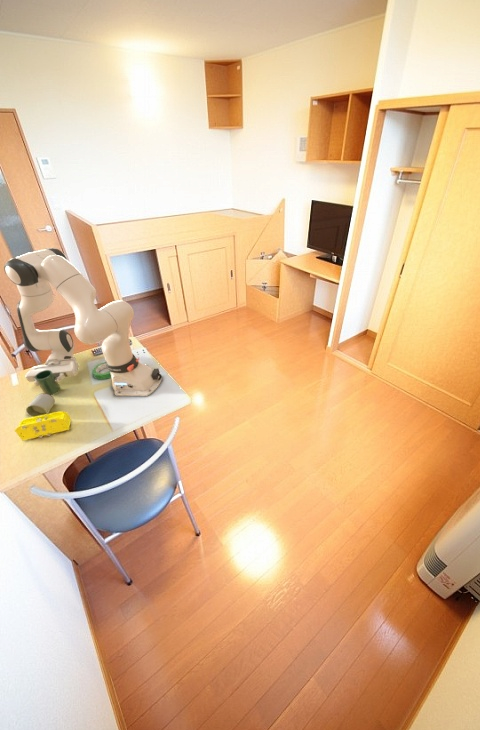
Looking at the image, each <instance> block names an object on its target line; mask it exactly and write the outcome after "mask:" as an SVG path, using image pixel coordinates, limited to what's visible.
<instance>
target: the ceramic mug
mask: <svg viewBox="0 0 480 730" xmlns="http://www.w3.org/2000/svg"><path fill="white" fill-rule="evenodd" d="M55 399H56V398H55V397H54V396H53V395H49V394H45V393H44V392H43V393H39V394H38V395H36V396H35V397H34V398H33V400H32V401H31V402H30V403H29V404H28V405H26V407H25V414H26V415H28V416H30V417H36V416H40V415H45V414H49V413H50V411H51V410H52V408H53V407H54V405H55V402H56V400H55Z"/></svg>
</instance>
